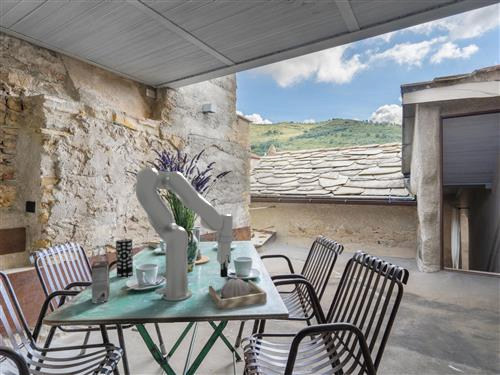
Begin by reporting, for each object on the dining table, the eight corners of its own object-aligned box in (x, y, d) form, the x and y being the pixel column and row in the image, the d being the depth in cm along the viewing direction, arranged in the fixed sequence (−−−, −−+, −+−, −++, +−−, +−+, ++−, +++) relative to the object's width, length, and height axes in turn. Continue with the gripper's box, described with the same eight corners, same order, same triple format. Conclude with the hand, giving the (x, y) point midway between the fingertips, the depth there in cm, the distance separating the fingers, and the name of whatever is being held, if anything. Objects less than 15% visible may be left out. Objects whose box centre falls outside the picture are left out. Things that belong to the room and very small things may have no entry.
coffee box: (94, 297, 132) (93, 261, 132) (110, 294, 135) (109, 260, 135) (91, 304, 124) (90, 266, 124) (108, 301, 126) (107, 264, 126)
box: (219, 309, 115) (219, 300, 115) (209, 293, 133) (208, 285, 133) (266, 301, 122) (266, 293, 122) (250, 287, 140) (250, 279, 140)
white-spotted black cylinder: (132, 276, 162) (132, 240, 162) (116, 278, 158) (115, 242, 158) (133, 272, 169) (132, 238, 169) (117, 274, 166) (116, 239, 166)
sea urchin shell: (214, 299, 126) (213, 281, 126) (231, 290, 137) (231, 273, 137) (240, 305, 119) (239, 286, 119) (256, 294, 131) (255, 276, 131)
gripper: (213, 237, 148) (213, 273, 148) (220, 242, 134) (220, 281, 134) (228, 236, 151) (227, 272, 150) (236, 241, 137) (235, 280, 136)
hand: (223, 276), depth 142 cm, fingers closed
